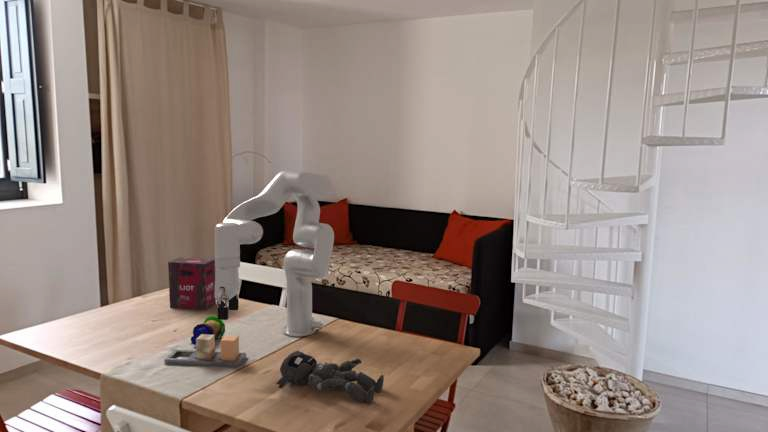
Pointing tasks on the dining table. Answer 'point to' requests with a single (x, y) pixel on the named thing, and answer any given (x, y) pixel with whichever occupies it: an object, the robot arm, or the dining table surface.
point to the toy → (209, 329)
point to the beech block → (205, 347)
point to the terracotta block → (230, 348)
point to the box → (192, 283)
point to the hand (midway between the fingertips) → (228, 314)
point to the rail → (191, 359)
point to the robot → (329, 376)
